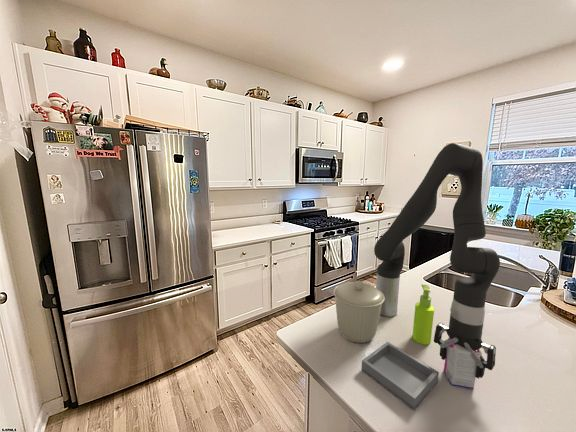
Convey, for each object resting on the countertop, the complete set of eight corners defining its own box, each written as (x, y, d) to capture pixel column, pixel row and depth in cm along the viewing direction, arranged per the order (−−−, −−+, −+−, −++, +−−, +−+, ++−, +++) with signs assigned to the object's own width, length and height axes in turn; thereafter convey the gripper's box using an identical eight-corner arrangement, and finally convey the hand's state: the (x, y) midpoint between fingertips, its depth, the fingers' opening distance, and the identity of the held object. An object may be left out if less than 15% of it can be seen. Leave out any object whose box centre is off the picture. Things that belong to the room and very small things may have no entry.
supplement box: (474, 389, 67) (480, 353, 65) (451, 386, 68) (455, 350, 66) (464, 373, 73) (469, 339, 71) (442, 370, 74) (446, 336, 72)
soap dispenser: (428, 334, 91) (433, 284, 87) (432, 346, 84) (438, 293, 81) (410, 331, 93) (415, 282, 89) (413, 342, 86) (418, 290, 83)
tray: (361, 370, 74) (362, 360, 73) (386, 350, 82) (387, 341, 82) (413, 410, 61) (415, 398, 61) (437, 382, 70) (438, 372, 69)
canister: (389, 332, 92) (393, 281, 88) (368, 359, 79) (372, 299, 75) (346, 314, 104) (348, 268, 100) (322, 334, 91) (324, 282, 87)
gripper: (503, 323, 64) (495, 376, 67) (443, 301, 75) (438, 347, 78) (495, 334, 59) (486, 391, 62) (433, 309, 71) (428, 358, 73)
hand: (460, 367), depth 70 cm, fingers open, 8 cm apart
